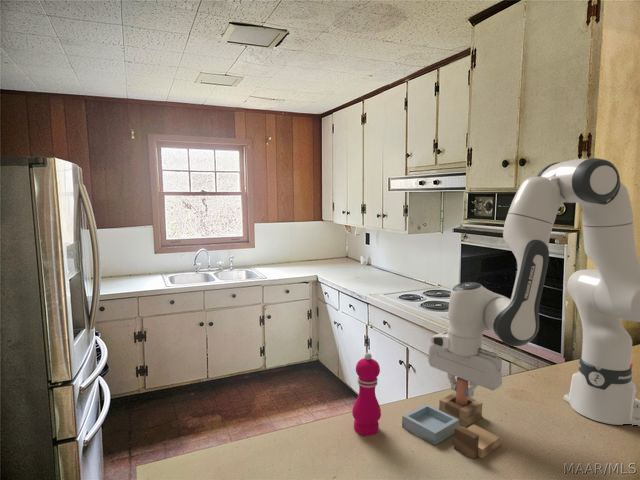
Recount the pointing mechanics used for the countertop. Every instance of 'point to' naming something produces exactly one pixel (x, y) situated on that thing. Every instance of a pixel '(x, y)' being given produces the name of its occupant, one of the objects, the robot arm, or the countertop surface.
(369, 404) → the pepper mill
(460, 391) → the dowel
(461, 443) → the block
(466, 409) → the socket block
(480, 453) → the tan wooden cuboid
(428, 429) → the tray
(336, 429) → the countertop surface
